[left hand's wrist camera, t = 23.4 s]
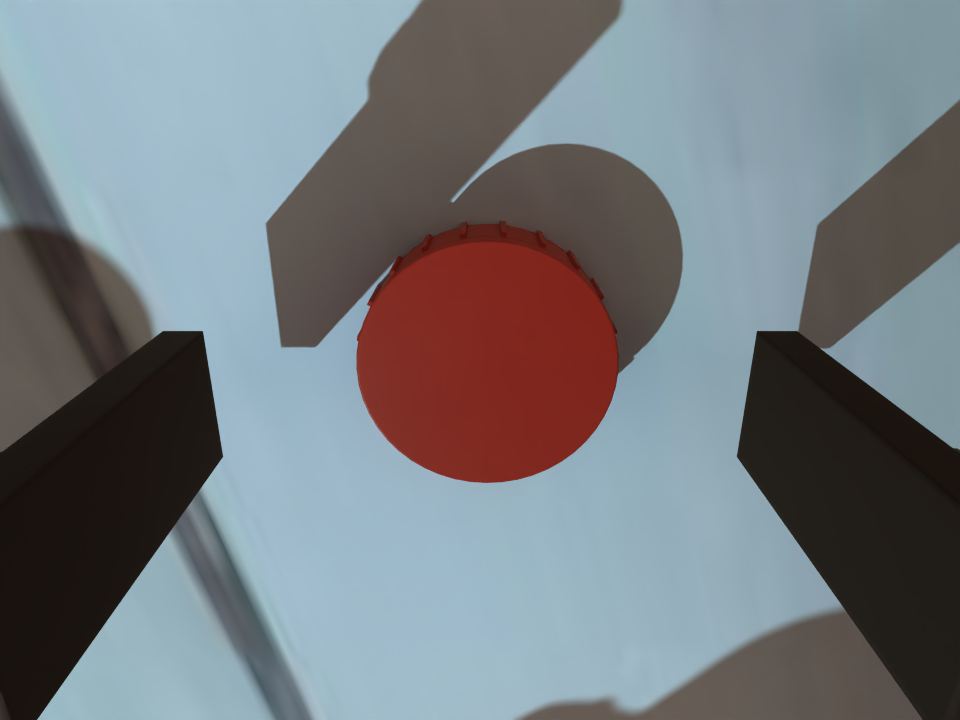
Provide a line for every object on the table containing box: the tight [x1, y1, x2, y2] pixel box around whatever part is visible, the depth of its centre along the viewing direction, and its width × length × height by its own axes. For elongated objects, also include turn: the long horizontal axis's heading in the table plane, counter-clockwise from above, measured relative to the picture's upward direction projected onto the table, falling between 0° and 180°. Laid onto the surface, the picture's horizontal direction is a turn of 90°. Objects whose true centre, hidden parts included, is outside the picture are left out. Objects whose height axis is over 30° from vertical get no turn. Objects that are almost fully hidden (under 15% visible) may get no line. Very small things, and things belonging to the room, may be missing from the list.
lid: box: [357, 221, 619, 483], centre depth 14 cm, size 5×5×2 cm
